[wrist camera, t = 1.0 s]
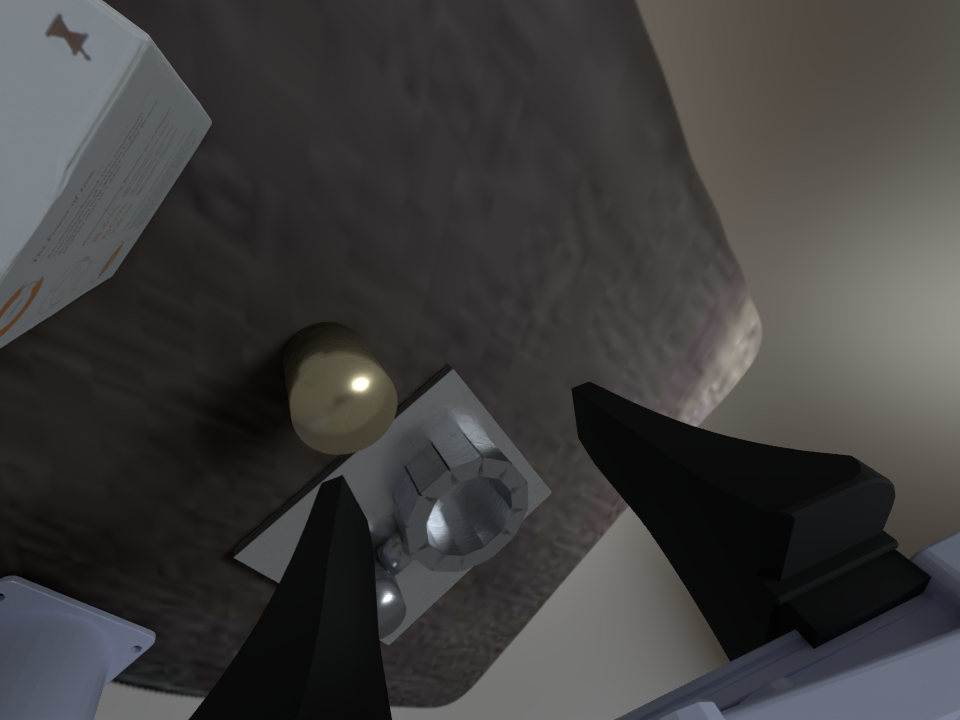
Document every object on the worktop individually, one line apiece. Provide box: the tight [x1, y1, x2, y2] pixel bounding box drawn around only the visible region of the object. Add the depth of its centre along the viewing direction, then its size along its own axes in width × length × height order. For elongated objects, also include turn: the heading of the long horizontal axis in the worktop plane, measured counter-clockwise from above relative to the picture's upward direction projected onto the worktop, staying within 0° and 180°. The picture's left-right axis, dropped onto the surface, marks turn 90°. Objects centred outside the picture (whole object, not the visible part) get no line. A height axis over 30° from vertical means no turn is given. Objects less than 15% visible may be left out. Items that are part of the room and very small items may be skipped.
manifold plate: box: [234, 364, 552, 645], centre depth 28 cm, size 16×14×5 cm
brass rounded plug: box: [283, 322, 397, 455], centre depth 22 cm, size 4×4×6 cm
